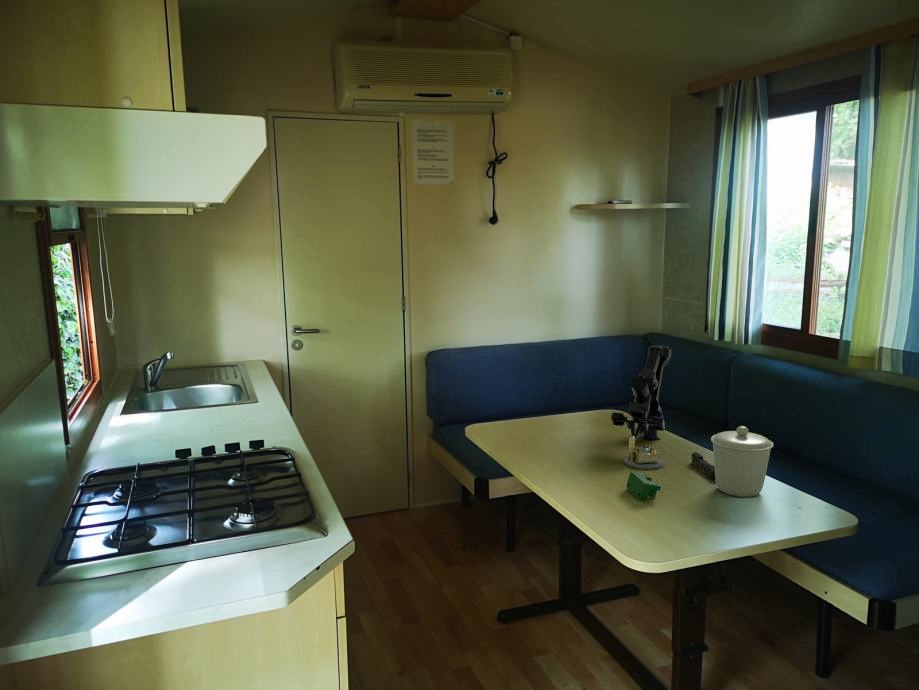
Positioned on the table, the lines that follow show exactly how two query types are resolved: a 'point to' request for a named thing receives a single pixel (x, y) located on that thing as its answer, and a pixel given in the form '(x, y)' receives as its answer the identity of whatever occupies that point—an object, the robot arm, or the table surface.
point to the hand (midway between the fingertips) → (633, 441)
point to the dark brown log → (703, 465)
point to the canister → (740, 461)
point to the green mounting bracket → (642, 485)
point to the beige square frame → (641, 453)
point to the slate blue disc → (644, 465)
